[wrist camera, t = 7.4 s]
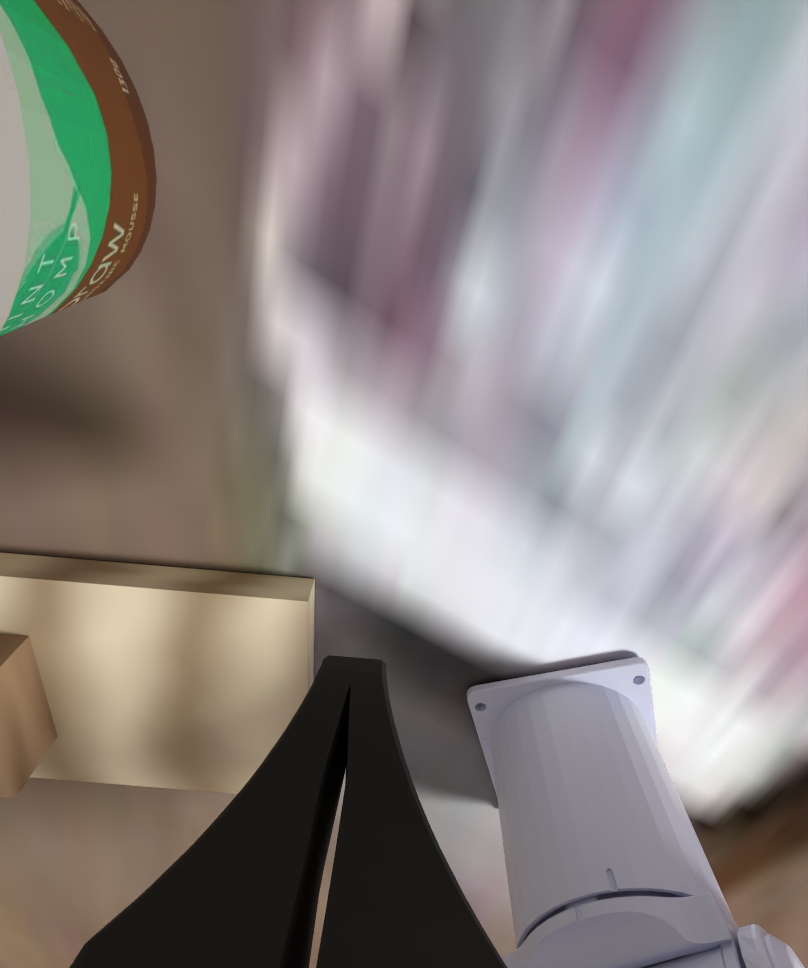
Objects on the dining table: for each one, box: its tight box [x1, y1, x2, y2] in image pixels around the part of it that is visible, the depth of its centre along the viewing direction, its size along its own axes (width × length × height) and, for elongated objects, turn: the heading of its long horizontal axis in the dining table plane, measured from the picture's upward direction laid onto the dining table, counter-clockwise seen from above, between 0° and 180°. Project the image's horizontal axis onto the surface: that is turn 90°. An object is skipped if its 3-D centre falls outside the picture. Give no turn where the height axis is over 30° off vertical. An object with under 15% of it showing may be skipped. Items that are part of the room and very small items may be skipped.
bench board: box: [0, 553, 315, 794], centre depth 25 cm, size 22×12×2 cm, turn 85°
